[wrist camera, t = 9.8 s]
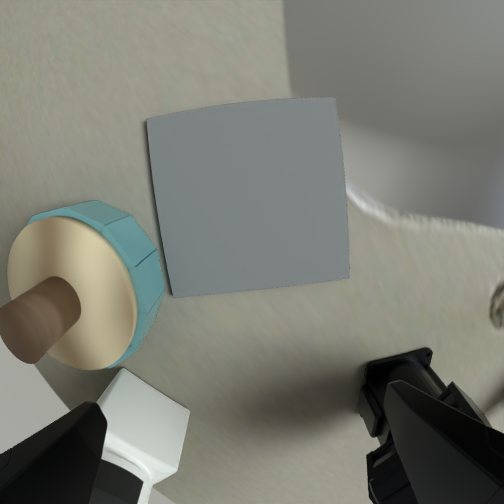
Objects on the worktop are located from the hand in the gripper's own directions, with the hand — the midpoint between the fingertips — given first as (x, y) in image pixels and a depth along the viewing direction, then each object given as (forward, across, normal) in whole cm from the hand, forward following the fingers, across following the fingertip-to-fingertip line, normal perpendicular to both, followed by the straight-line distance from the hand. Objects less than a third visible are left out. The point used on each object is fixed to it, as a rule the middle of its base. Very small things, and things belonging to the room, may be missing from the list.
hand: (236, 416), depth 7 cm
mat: (+12, -1, -5) cm, 14 cm away
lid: (+8, +11, -1) cm, 14 cm away
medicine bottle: (+13, +11, +12) cm, 21 cm away
